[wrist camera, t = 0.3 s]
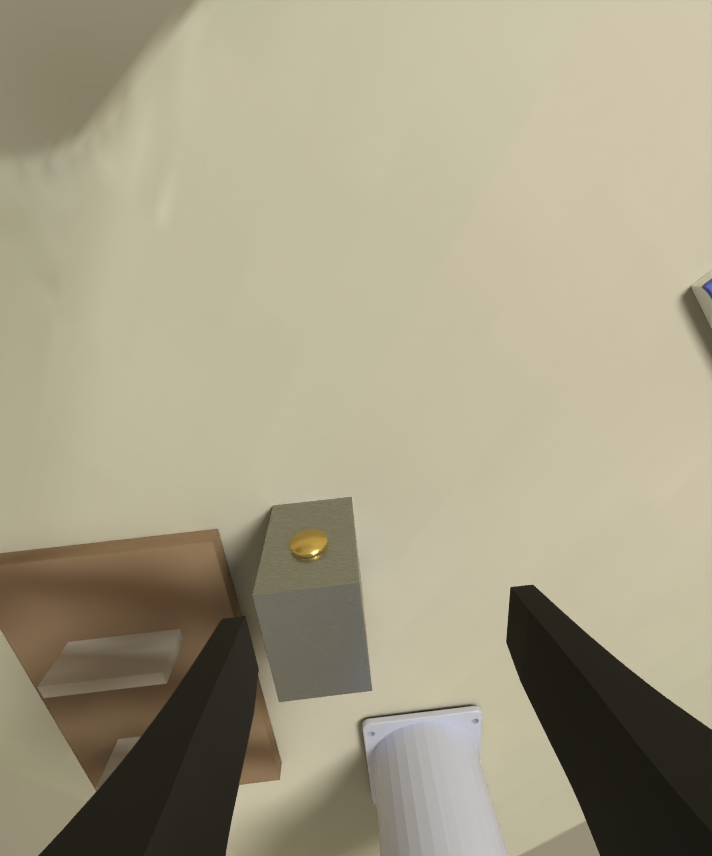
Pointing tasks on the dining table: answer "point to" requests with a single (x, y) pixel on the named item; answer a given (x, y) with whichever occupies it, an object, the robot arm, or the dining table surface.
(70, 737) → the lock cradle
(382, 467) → the dining table surface
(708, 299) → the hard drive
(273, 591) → the block
